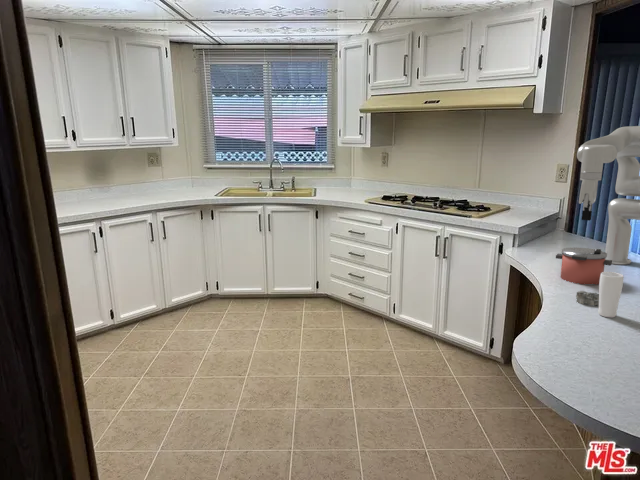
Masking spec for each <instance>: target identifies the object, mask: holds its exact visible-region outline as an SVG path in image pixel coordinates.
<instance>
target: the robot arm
mask: <svg viewBox="0 0 640 480" xmlns="http://www.w3.org/2000/svg"><path fill="white" fill-rule="evenodd" d="M576 158H577V160H578V162H581V167H580V174H579V176H580V178H579V181H581V184H580V185H581V186H580V191H579V199H578V204H579V205H581V204H582V205H583V206H582V212H581V214H582V215H581V221H591V220H592V214H593V204H594V203H595V202H596V199H597V195H598V186H599V185H598V184H599V183H598V182H599V181H602V175H603V167H604V164H609V163H612V162H613V161H615V160H616V161H617V165H618V169H617V176H616V182H615V193H616V194H617V195H620V196H627V197H640V162H639V160H638V159H637V158H640V125H635V126H633V125H631V126H629V125H628V126H622V127H618V128H616V129H615V130H614V131H612V132H611V133H610V134H608V135H605V136H600V137H598V138H593V139H590V140H587V141H585V142H584V143H583V144H581V145H580V146H579V147H578V149H577V153H576ZM607 209H608V210H607V211H608V225H607V226H608V227H607V233H606V234H607V235H606V236H607V237H606V243H605V249H604V250H605V251H604V252H606V253H607V258H605V260H612V264H611V265H619V266H620V265H622V266H624V265H630V264H631V263H632V260H631V259H629V251H630V243H631V236H632V234H631V233H632V230H633V228H632V224H631V223H630V221H629V220H635V221H636V220H637V221H640V199H637V198H636V199H635V198H634V199H633V198H620V197H619V198H614V199H612V200H611V201H610V202H608V206H607Z"/></svg>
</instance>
